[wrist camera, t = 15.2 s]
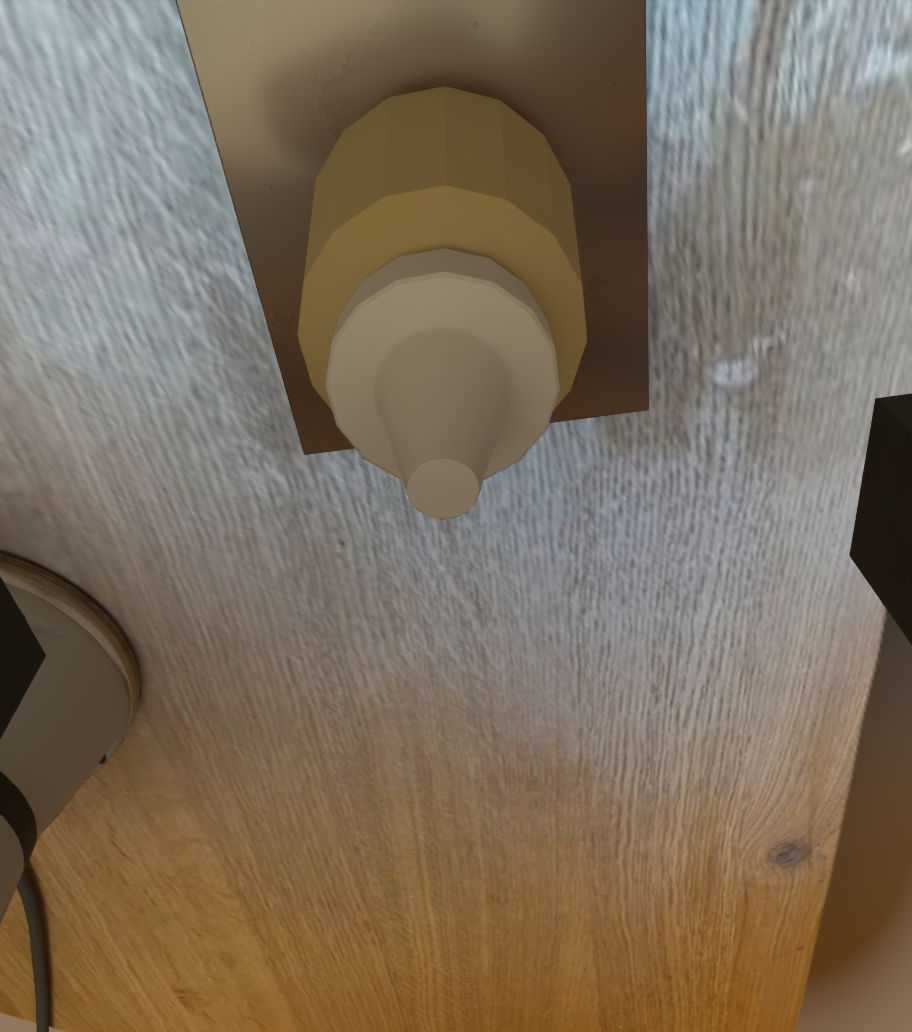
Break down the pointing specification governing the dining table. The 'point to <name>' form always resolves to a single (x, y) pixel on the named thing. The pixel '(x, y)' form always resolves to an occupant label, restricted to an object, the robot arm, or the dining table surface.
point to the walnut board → (416, 67)
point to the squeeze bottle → (442, 291)
